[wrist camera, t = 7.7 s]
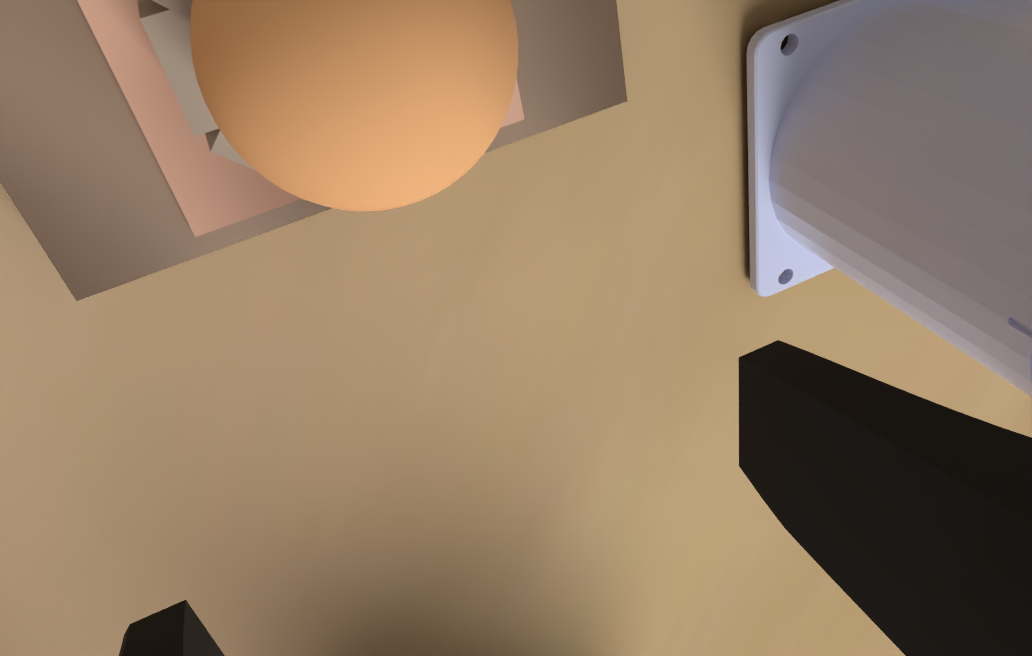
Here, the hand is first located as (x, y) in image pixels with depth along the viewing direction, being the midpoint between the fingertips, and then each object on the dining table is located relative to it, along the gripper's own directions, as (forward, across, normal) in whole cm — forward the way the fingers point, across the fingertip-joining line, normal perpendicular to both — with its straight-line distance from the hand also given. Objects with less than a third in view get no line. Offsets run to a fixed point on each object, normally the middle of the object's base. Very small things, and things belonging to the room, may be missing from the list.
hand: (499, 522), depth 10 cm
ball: (+5, -1, -4) cm, 7 cm away
